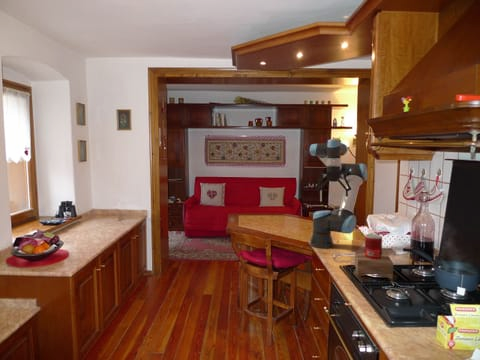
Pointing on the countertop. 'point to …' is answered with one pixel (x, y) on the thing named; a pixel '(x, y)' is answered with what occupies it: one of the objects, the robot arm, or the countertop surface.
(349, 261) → the countertop surface
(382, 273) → the walnut stand
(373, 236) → the canned food
